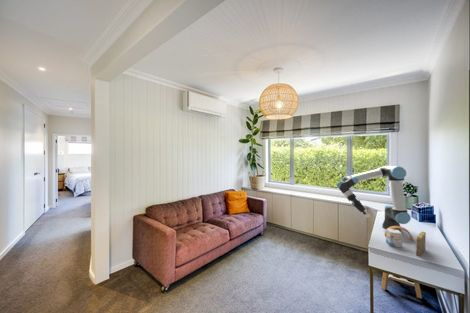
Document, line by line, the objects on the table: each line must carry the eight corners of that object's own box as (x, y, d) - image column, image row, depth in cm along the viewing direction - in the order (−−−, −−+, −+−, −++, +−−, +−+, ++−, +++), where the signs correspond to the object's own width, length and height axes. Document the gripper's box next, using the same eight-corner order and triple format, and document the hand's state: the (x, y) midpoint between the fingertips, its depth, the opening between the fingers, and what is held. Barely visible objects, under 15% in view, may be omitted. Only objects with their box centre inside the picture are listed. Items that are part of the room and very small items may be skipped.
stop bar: (421, 248, 164) (422, 231, 164) (425, 249, 162) (425, 232, 162) (416, 255, 153) (416, 237, 153) (419, 256, 151) (420, 237, 151)
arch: (413, 241, 177) (413, 230, 177) (385, 236, 187) (385, 225, 187) (411, 239, 182) (412, 228, 182) (384, 234, 192) (384, 224, 192)
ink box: (389, 245, 169) (389, 231, 168) (385, 241, 177) (386, 228, 176) (402, 247, 166) (402, 233, 165) (398, 243, 173) (398, 229, 173)
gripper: (350, 197, 204) (368, 218, 191) (343, 198, 196) (362, 220, 184) (355, 192, 200) (374, 213, 187) (349, 194, 192) (369, 216, 179)
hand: (368, 217), depth 185 cm, fingers closed
